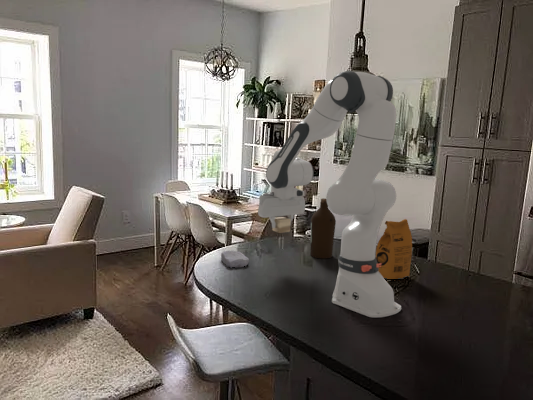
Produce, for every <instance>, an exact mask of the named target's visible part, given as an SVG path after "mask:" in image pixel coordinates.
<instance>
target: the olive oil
mask: <svg viewBox="0 0 533 400" xmlns="http://www.w3.org/2000/svg"><path fill="white" fill-rule="evenodd" d="M336 222H337V221H336V216H335V215H334V213H333V212H332V211H331V210H330V209H329V207H328V205H327V200H326V198H320V204H319V207H318V209H316V211H314V213H313V214H312V216H311V218H310V252H309V253H310V256H311V257H312V258H316V259H324V260H325V259H330V258H332V257H333V250H334V242H335V241H334V240H335V232H336Z"/></svg>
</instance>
